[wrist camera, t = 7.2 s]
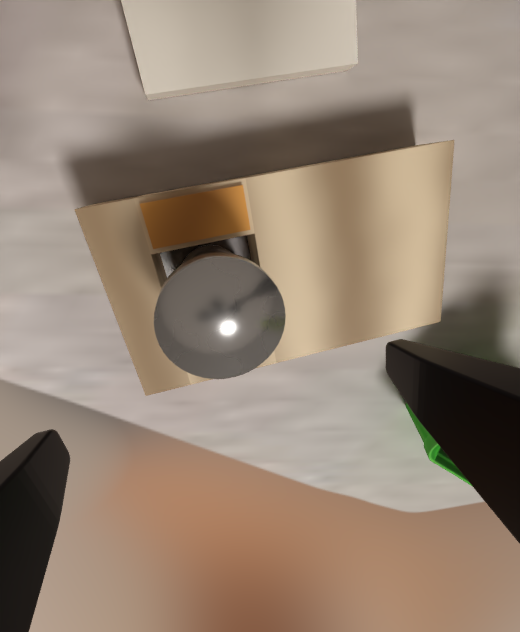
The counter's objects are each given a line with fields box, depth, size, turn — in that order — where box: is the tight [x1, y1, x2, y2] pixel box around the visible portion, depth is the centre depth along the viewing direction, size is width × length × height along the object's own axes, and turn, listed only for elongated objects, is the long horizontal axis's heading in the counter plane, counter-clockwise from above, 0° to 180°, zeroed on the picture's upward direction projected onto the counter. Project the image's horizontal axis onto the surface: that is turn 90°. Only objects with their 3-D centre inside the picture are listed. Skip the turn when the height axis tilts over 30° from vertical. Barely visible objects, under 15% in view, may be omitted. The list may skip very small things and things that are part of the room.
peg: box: [154, 245, 286, 379], centre depth 16 cm, size 5×5×7 cm
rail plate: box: [75, 140, 454, 396], centre depth 18 cm, size 18×10×3 cm, turn 99°
